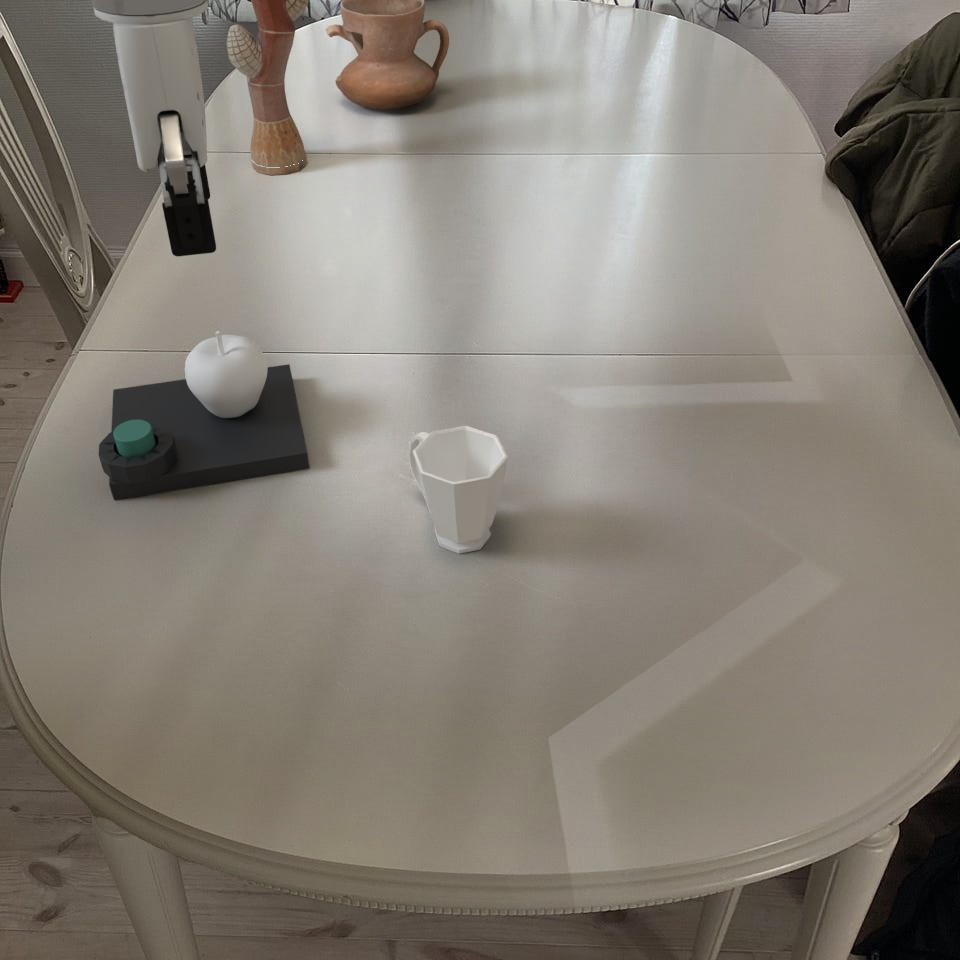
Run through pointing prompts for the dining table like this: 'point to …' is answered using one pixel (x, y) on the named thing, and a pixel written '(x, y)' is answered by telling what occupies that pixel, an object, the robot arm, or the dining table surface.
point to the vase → (270, 84)
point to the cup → (459, 483)
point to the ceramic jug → (387, 52)
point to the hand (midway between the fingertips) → (192, 225)
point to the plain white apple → (226, 374)
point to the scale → (204, 438)
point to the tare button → (134, 438)
